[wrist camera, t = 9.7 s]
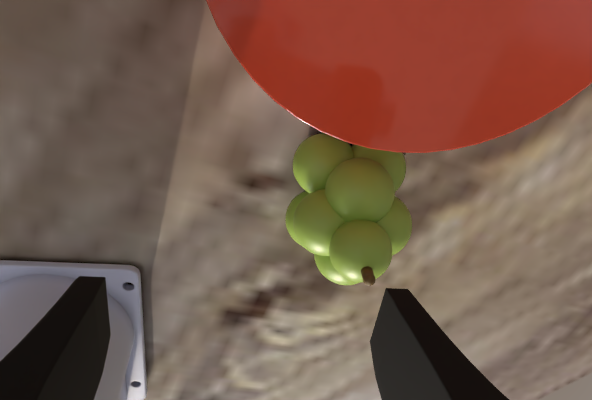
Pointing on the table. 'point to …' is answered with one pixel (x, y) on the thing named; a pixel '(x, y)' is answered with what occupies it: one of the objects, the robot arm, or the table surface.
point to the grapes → (348, 208)
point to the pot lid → (413, 64)
